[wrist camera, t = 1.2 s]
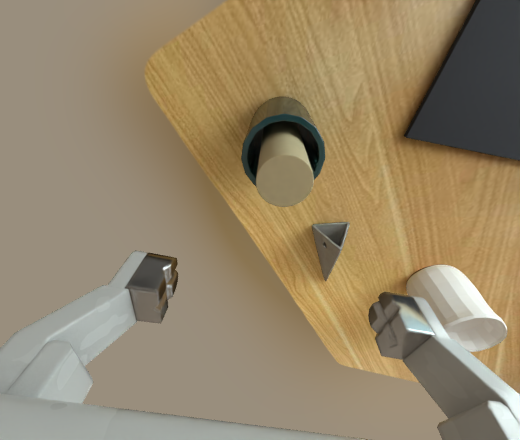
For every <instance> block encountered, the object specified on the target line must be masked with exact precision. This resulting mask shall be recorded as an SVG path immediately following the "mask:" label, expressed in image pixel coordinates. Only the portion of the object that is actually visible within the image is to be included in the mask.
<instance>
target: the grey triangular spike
mask: <svg viewBox="0 0 520 440" xmlns="http://www.w3.org/2000/svg"><path fill="white" fill-rule="evenodd" d="M349 224H350V223H349V222H340V223H325V224H313V225H312V230H313V234H314V239H315V243H316V247H317V252H318V256H319V260H320V264H321V268H322V273H323V277H324V280H325V281H326V280H327V279H328V277H329V275H330V273H331V271H332V269H333V267H334V265H335V263H336V261H337V259H338V257H339V255H340V253H341V250H342V248H343V244H344V241H345V238H346V235H347V232H348V228H349Z"/></svg>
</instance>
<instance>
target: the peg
mask: <svg viewBox="0 0 520 440" xmlns="http://www.w3.org/2000/svg"><path fill="white" fill-rule="evenodd" d="M313 183H314V176H313V172H312V169H311V165H310V162H309V159H308V156H307V153H306V150H305V147H304V143H303V140H302V137H301V134H300V131H299V128H298V125H297V123H295V122H290V121H285V120H283V121H279V122H274V123H270V124H268V125H267V126H265V127H264V129H263V136H262V142H261V149H260V156H259V162H258V169H257V176H256V187H257V190H258V192H259V194H260V195H261V197H262V198H263V199H264V200H265V201H267V202H268V203H270V204H272V205H275V206H280V207H288V206H293V205H296V204H298V203H300V202H301V201H303V200H304V199H305V198H306V197H307V196H308V195H309V193H310V192H311V190H312V187H313Z"/></svg>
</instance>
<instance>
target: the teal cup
mask: <svg viewBox="0 0 520 440" xmlns="http://www.w3.org/2000/svg"><path fill="white" fill-rule="evenodd" d="M283 120H285V121H290V122H295V123H297V125H298V128H299V131H300V134H301V137H302V140H303V143H304V147H305V150H306V153H307V156H308V159H309V162H310V165H311V169H312V172H313V176H314V180H315V178H316V177H317V176H318V175H319V174H320V172H321V169H322V166H323V163H324V160H325V147H324V141H323V139H322V137H321V135H320V133H319V131H318V130H317V128H316V126H315V124H314V122H313V121H312V119H311V117H310V115H309V113H308V112H307V110H306V108H305V107H304V106H303V105H302V104H301V103H300V102H298V101H297V100H295V99H292V98H289V97H275V98H272V99H269V100H267V101H266V102H264V103H263V104H262V105H261V106H260V107H259V108H258V109H257V111H256V112H255V114H254V116H253V118H252V120H251V123H250V125H249V128H248V131H247V134H246V137H245V140H244V143H243V149H242V156H241V160H242V163H243V167H244V171H245V173H246V175H247V176H248V177H249V179H250V180H251V181H252V183H253V184H254V185H255V186H256V176H257V169H258V162H259V156H260V149H261V142H262V136H263V129H264V127H265V126H267V125H268V124H270V123H274V122H279V121H283Z"/></svg>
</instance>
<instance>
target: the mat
mask: <svg viewBox="0 0 520 440" xmlns="http://www.w3.org/2000/svg"><path fill="white" fill-rule="evenodd" d="M404 136H405V137H406V138H411V139H416V140H421V141H426V142H431V143H436V144H441V145H446V146H451V147H455V148H460V149H465V150H470V151H475V152H480V153H485V154H490V155H495V156H500V157H505V158H510V159H515V160H520V0H476V2H475V3H474V5H473V7H472V9H471V11H470V13H469V15H468V16H467V18H466V20H465V22H464V24H463V26H462V28H461V30H460V31H459V33H458V35H457V37H456V39H455V41H454V43H453V45H452V46H451V48H450V50H449V52H448V54H447V56H446V58H445V60H444V61H443V63H442V65H441V67H440V69H439V71H438V73H437V75H436V76H435V78H434V80H433V82H432V84H431V86H430V88H429V90H428V91H427V93H426V95H425V97H424V99H423V101H422V103H421V105H420V106H419V108H418V110H417V112H416V114H415V116H414V118H413V119H412V121H411V123H410V125H409V127H408V129H407V131H406V133H405V134H404Z"/></svg>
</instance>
